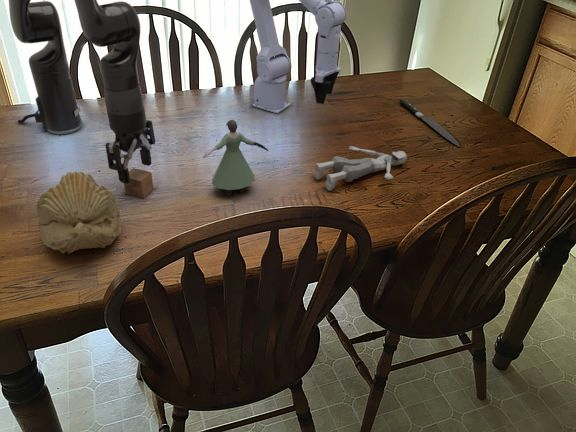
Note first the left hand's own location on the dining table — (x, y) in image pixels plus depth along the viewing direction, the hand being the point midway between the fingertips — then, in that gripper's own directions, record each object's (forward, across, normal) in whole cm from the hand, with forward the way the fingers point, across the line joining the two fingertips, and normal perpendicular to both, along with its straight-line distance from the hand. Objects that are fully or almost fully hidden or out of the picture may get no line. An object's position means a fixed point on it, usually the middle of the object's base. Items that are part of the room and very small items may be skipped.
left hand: (136, 173), depth 113 cm
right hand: (-3, +51, -29) cm, 59 cm away
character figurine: (+5, +10, -20) cm, 23 cm away
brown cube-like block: (+5, 0, 0) cm, 5 cm away
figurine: (+5, +29, -47) cm, 55 cm away
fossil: (+5, -20, 0) cm, 20 cm away
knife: (+5, +66, -59) cm, 89 cm away
